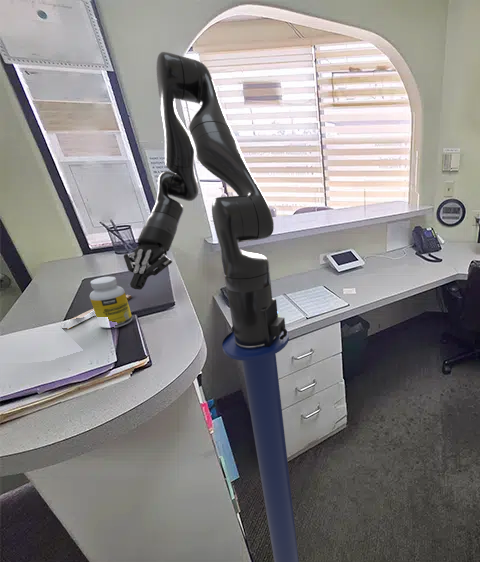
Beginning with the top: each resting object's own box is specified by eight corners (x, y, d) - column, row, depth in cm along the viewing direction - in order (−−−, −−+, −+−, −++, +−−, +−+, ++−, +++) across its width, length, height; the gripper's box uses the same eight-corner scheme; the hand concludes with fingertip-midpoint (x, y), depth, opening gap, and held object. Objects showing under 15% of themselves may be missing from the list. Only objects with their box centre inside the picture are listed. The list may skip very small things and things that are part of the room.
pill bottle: (101, 332, 73) (85, 287, 68) (99, 322, 77) (83, 279, 73) (135, 323, 77) (122, 280, 72) (131, 314, 81) (118, 273, 77)
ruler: (131, 297, 90) (131, 295, 90) (69, 329, 74) (68, 326, 73) (122, 297, 90) (121, 294, 90) (58, 328, 74) (56, 325, 74)
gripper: (189, 240, 91) (168, 295, 84) (147, 237, 92) (123, 291, 85) (172, 226, 84) (148, 284, 77) (127, 223, 85) (100, 281, 78)
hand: (135, 288), depth 81 cm, fingers closed
